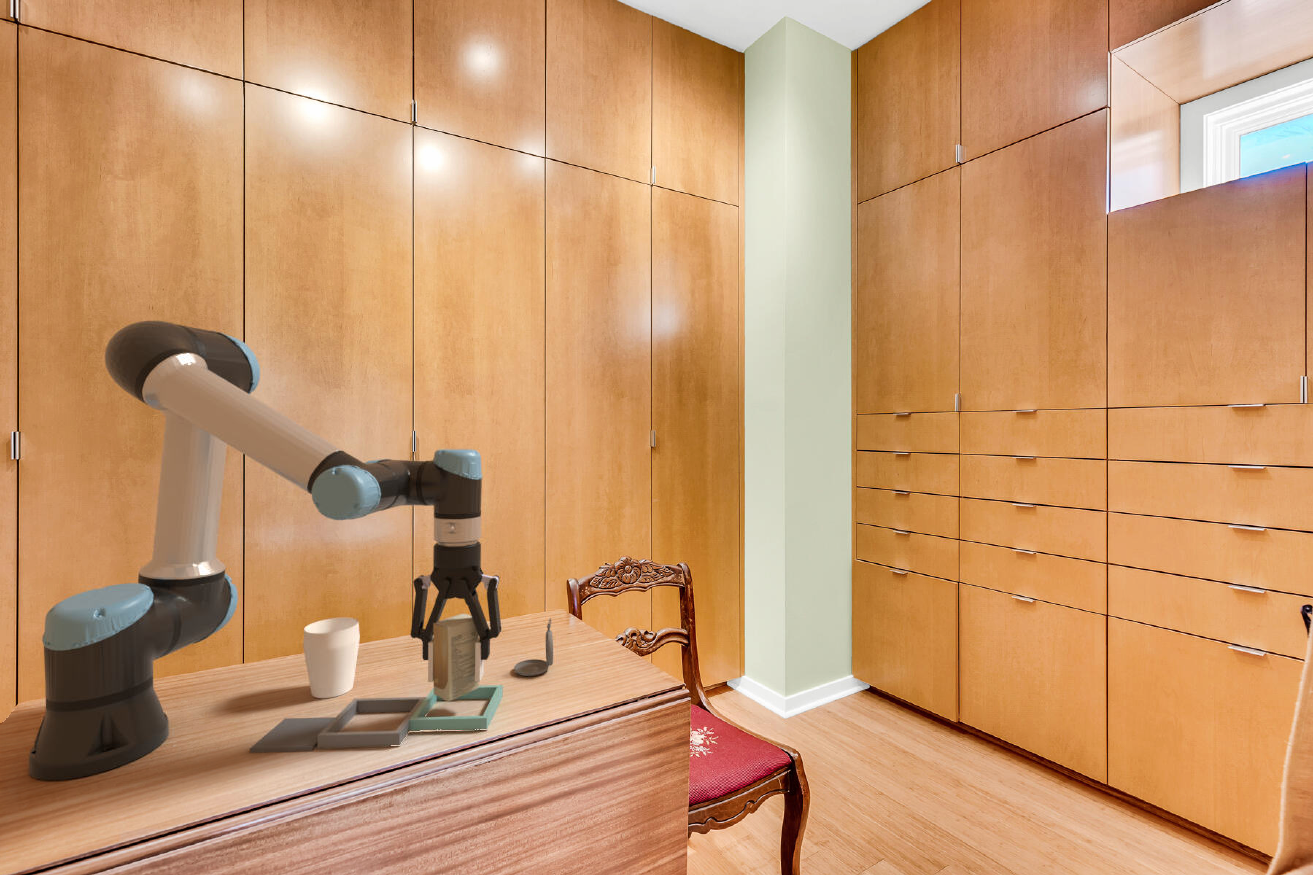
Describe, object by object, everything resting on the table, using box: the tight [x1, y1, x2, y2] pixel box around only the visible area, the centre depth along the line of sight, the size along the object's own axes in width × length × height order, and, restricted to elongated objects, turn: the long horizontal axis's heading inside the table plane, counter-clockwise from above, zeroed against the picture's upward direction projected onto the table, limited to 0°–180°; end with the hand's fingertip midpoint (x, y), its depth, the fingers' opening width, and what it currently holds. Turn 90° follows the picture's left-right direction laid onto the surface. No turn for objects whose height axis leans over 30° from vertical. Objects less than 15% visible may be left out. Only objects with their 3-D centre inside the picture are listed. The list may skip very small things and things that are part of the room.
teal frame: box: [409, 684, 504, 731], centre depth 99 cm, size 12×12×2 cm
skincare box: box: [433, 613, 480, 702], centre depth 99 cm, size 6×4×12 cm
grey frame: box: [317, 696, 427, 750], centre depth 95 cm, size 12×12×2 cm
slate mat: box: [249, 716, 337, 753], centre depth 92 cm, size 9×9×1 cm
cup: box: [302, 617, 361, 699], centre depth 108 cm, size 9×9×12 cm
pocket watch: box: [513, 617, 554, 677], centre depth 117 cm, size 8×8×10 cm
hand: (456, 678), depth 99 cm, fingers closed on skincare box, 7 cm apart
